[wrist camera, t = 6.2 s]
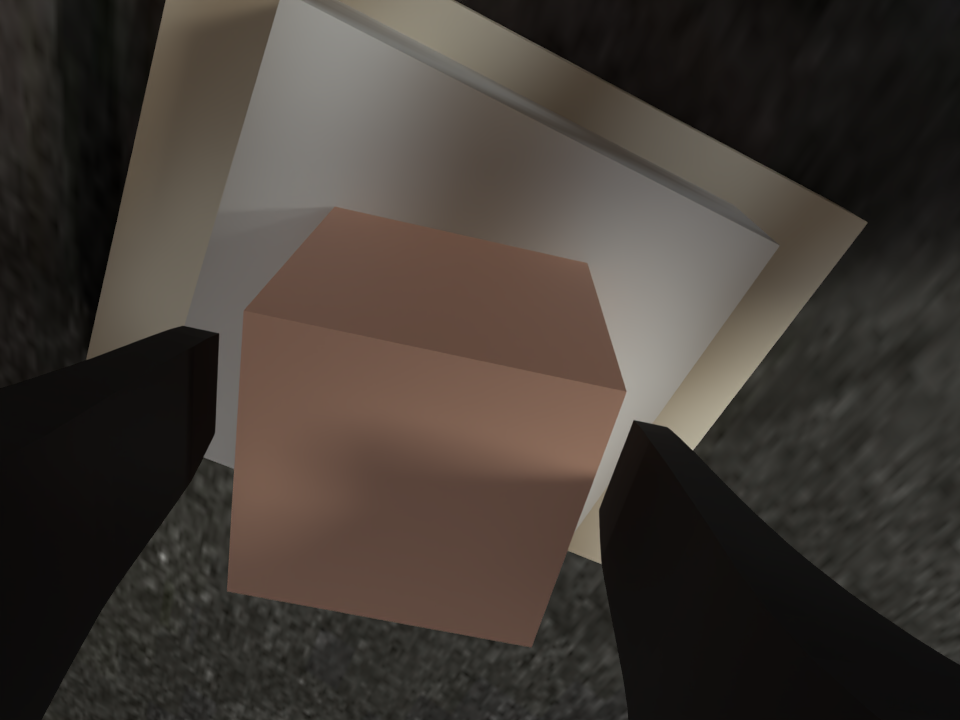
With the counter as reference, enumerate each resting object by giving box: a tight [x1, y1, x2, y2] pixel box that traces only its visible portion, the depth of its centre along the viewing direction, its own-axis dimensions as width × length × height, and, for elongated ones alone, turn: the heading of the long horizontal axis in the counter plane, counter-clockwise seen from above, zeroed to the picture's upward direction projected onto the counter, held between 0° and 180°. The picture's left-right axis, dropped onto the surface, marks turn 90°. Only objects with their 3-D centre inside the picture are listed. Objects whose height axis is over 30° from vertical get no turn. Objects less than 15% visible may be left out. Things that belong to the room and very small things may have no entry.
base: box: [86, 0, 868, 564], centre depth 16 cm, size 16×12×4 cm
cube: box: [227, 207, 627, 647], centre depth 12 cm, size 5×5×5 cm
